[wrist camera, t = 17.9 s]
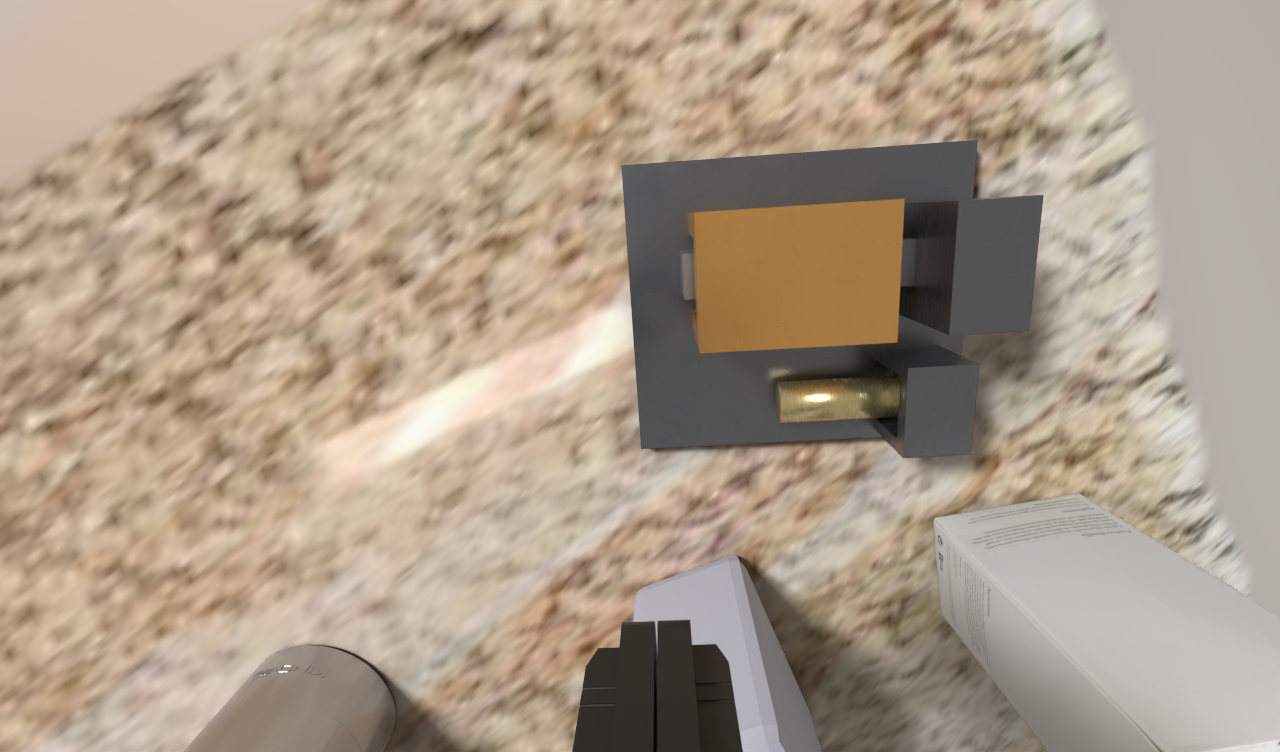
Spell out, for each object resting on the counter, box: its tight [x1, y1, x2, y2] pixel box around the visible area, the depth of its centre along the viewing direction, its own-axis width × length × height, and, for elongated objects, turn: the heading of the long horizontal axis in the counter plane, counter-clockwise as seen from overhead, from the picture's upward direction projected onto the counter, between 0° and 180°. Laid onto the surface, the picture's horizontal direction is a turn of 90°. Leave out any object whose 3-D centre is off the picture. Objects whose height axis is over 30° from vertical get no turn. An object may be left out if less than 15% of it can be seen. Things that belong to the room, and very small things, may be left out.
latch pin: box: [775, 375, 900, 423], centre depth 29 cm, size 2×6×2 cm, turn 94°
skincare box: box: [934, 494, 1280, 752], centre depth 26 cm, size 8×7×16 cm
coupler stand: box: [622, 140, 1043, 458], centre depth 26 cm, size 14×16×7 cm
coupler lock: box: [688, 199, 905, 353], centre depth 26 cm, size 6×8×5 cm
